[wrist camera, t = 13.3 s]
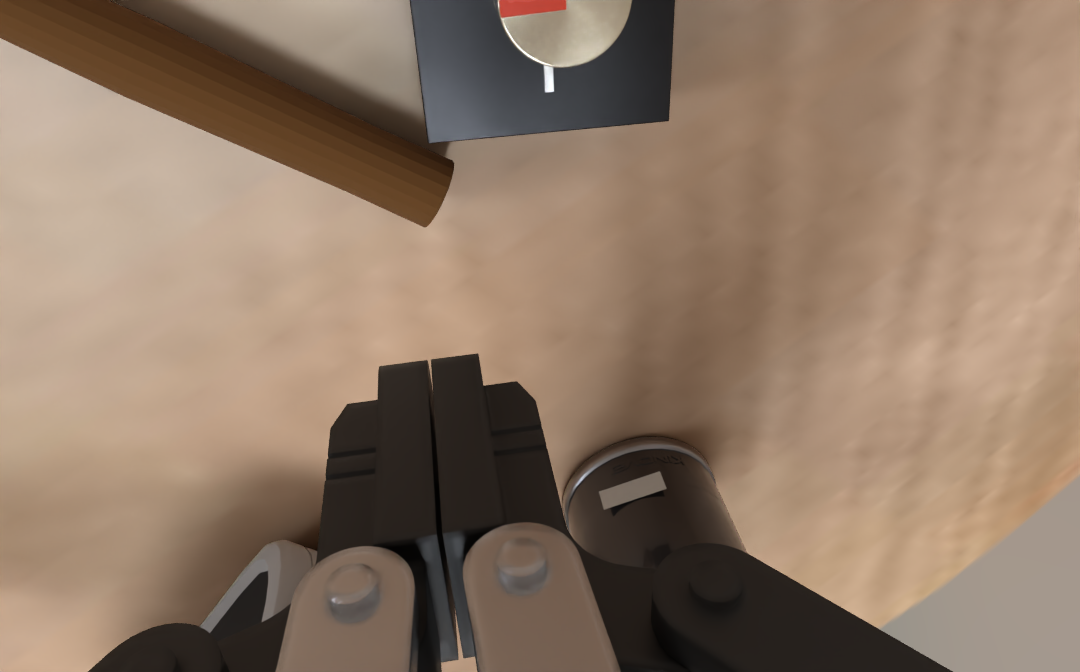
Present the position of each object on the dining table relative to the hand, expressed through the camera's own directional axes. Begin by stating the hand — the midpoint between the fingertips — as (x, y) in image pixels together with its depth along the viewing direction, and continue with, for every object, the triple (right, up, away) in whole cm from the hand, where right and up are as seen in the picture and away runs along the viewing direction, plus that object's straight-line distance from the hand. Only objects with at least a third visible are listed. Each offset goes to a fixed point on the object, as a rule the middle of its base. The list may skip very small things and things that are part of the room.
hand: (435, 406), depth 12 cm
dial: (+2, +14, +17) cm, 22 cm away
